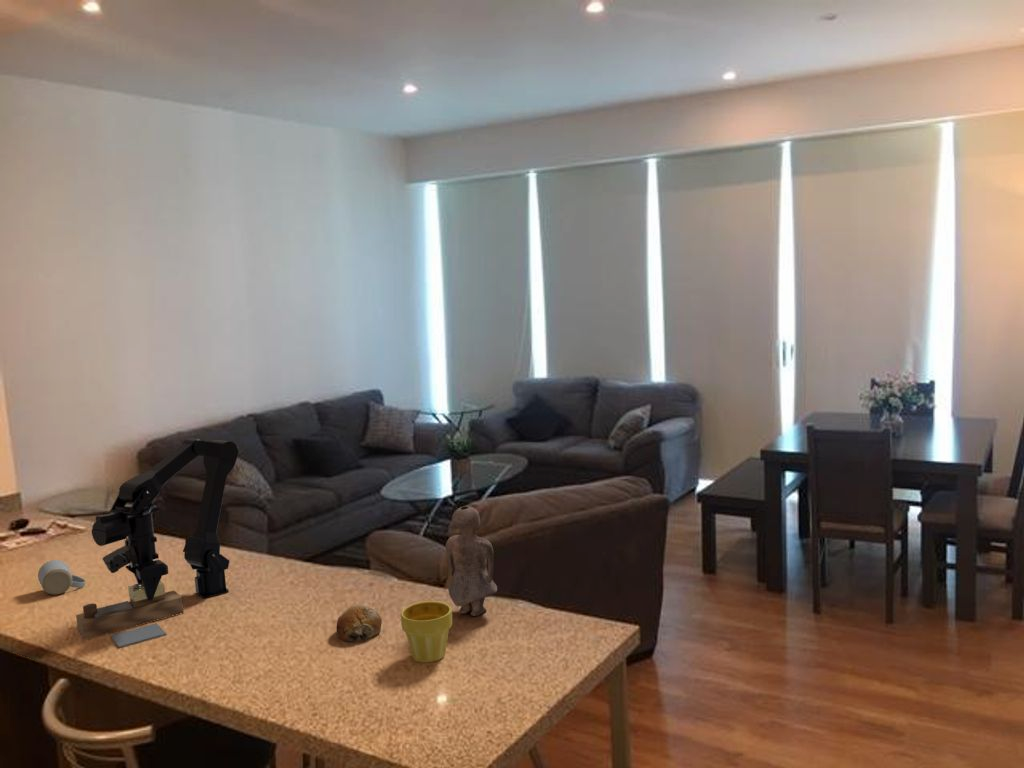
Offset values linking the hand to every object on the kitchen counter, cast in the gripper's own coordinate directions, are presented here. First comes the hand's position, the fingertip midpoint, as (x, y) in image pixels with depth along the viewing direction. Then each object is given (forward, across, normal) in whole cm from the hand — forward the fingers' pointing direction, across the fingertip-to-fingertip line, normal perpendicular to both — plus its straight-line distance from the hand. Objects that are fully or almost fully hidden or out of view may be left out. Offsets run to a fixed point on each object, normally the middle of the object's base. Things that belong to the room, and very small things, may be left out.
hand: (147, 597), depth 204 cm
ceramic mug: (+5, -38, -12) cm, 40 cm away
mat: (+5, +10, -5) cm, 12 cm away
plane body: (+5, 0, -4) cm, 6 cm away
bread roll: (+5, +44, +33) cm, 55 cm away
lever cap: (0, 0, 0) cm, 0 cm away
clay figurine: (+5, +52, +58) cm, 78 cm away
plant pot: (+5, +65, +38) cm, 75 cm away
